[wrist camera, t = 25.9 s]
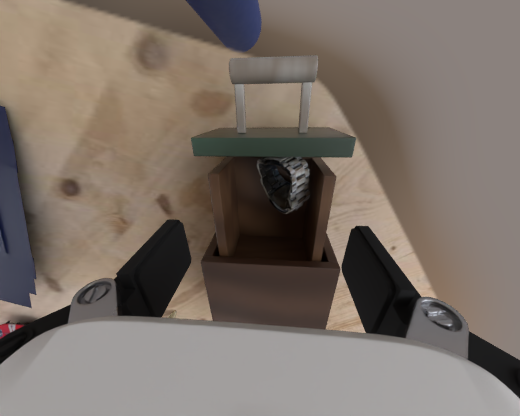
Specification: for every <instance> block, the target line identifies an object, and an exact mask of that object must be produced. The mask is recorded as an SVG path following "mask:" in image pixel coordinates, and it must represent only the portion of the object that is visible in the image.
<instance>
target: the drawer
mask: <svg viewBox="0 0 520 416" xmlns="http://www.w3.org/2000/svg"><path fill="white" fill-rule="evenodd" d="M317 69H318V56H291V57H290V56H289V57H259V58H231V59H230V62H229V72H230V79H231V82H232V84H235V101H236V117H237V128H218V129H215V130H212V131H209V132H207V133H204V134H201V135H198V136H195V137H192V138H191V141H192V147H193V153H194V156H227V157H226V158H225V159H224V160H223V161H221V162H220V163H219V164H218V165H217V166H216V167H215V168H214V169H213V170H212V171H211V172H210V173H209V174H208V179H209V186H210V193H211V200H212V207H213V214H214V221H215V228H216V235H217V242H218V249H219V256H220V257H238V258H258V259H278V260H297V261H317V262H321V258H322V253H323V247H324V242H325V236H326V230H327V225H328V219H329V214H330V208H331V203H332V197H333V192H334V186H335V181H336V175H335V174H334V173H333V172H332V171H331V170H330V168H329V167H328V166H327V165H326V164H325V162H324V161H323V160H322V159H321V158H320V157H352V155H353V151H354V146H355V141H356V138H355V137H352V136H350V135H347V134H345V133H342V132H340V131H337V130H334V129H332V128H329V127H328V128H308V119H309V108H310V98H311V88H312V83H313V82H315V79H316V75H317ZM273 83H302V88H301V101H300V114H299V128H246V112H245V88H244V84H273ZM263 157H301V158H302V159H304V160H305V161H306V162H307V164H308V169H309V172H310V175H309V182H308V183H307V184H308V188H307V189H308V190H309V191H310V193H311V195H310V197H309V198H308V199H307V200H306V201H305V202H304V203H303V205H302V206H301V207H299V208H298V209H297V210H294V211H292V212H290V213H288V214H284V213H282V212H280V211H278V210H277V209H276V208H274V207H273V205H272V204H271V203H270V201H269V199H268V197H267V194H266V192H265V190H264V188H263V186H262V184H261V182H260V178H261V176H260V175H259V172H258V169H257V161H258V160H259V159H261V158H263ZM276 167H277V170H278V172H279V175H281V176H282V177H283V178H284V180H285V181H287V182H289V183H290V184H291V182H290V178H289V176H288V175H287V174H286V173H285V171H284V170H282V169H281V168H280V167H278V166H276Z"/></svg>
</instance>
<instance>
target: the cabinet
mask: <svg viewBox="0 0 520 416" xmlns="http://www.w3.org/2000/svg"><path fill="white" fill-rule="evenodd" d="M201 266H202V271H203V275H204V280H205V285H206V290H207V295H208V300H209V304H210V309H211V314H212V319H213V321H220V322H233V323H247V324H260V325H274V326H287V327H299V328H312V329H324V330H325V329H326V325H327V321H328V317H329V313H330V309H331V305H332V301H333V297H334V293H335V289H336V285H337V281H338V277H339V273H340V267H339V264H338V262H337V259H336V257H335V254H334V251H333V249H332V246H331V244H330V241H329V238H328V236H327V233H326V236H325V242H324V247H323V253H322V258H321V262H317V261H297V260H278V259H258V258H238V257H220V256H219V249H218V242H217V235H216V232H215V234H214V236H213V238H212V240H211V242H210V244H209V246H208V248H207V250H206V252H205V254H204V256H203V258H202V260H201Z"/></svg>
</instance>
